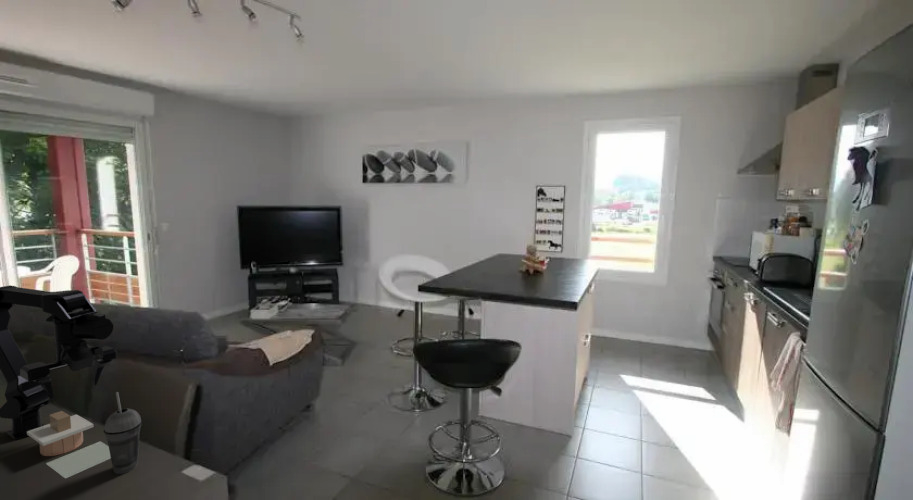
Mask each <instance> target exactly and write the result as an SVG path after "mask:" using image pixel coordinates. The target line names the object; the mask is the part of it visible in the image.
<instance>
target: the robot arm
mask: <svg viewBox="0 0 913 500" xmlns="http://www.w3.org/2000/svg"><path fill="white" fill-rule="evenodd" d="M15 305H18V306H24V307H25V306H26V307H33V308H39V309H41V311H43V313H45V314H49V315H50V316H49V317H47V318H46V319H45V322H48V323H50V322H51V323H53V331H54V340H53V345H54V346H55V356H54V359H55V360H56V361H55V362H50V363H45V362H42V361H37V362H33V363H29V364H28V363H27V361H26V358H25V356H24V354H23V353H22V351H21V350H20V348H19V346H18V344H17V342H16V341H15V338H14V337H13V335H12V333H11V331H10V329H9V324H10V321H11V314H10V310H12V308H13V307H14V306H15ZM97 313H98V311H97V310H96V308H95V306H94V305H93V304H92V303H91V302H90V300H89V299H88V298H87V297H86V295H85V294H84V292H83V291H82V290H80V289H73V290H69V289H67V290H58V291H47V290H40V289H32V288H25V287H19V286H15V285H6V286H0V371H1V373H2V375H3V377H4V378H5V380H6V382H7V384H6V388H5V391H4V398H5V399H6V402H4V404H3V405H2V406H1V407H0V418H1V419H10V423H11V429H10V430H8V431H7V432H6V434H7V435H8V436H10V437H11V438H13V440H17V441H18V440H19V439H20V440H21V439H23V438H25V437H30V436H29V435H27V431H30V430H33V429H35V428H38V427H41V426H44V424H43V422H42V417H41V416H42V415H41V408H42V407H44V406H47V405H50V401H51V400H53V399H54V390H53V385H52V376H51V375H50V374H51V371H54V370H58V369H63V368H65V367H69V369H70V370H71V371H74V372H78V371H80V370H83V369H86V368H90V373H91V382H92V385H93V386H94V387H96V386H97V384H98V382H99V380H100V376H101V373H102V371H103V370H104V367H106V365H108V364H109V363H111V362H112V361H113V360H114V359H117V358H118V351H117V349H116V348H113V347H111V346H108V345H104V346H101V345H97V346H93V347H88V343H87V340H97V341H98V340H100V341H103V340H106V339H108V338H109V337H110V336H111V334H112V333H113V331H114V323H113V322H112V320H110V319H109V318H106V314H105V313H98V314H97Z"/></svg>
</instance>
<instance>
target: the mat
mask: <svg viewBox="0 0 913 500" xmlns="http://www.w3.org/2000/svg"><path fill="white" fill-rule="evenodd" d="M108 460H111V456H110V451H109V446H108V445H107V443H106V444H105V443H104V442H102V441H101V440H100V441H98V442H95V443H92V444H90V445H88V446H86V447H83V448H81V449H78V450H75V451H73V452H71V453H69V454H68V453H67V454H66V455H63V456H60V457H58V458H56V459H53V460H51V461H48V462H46V463H45V465H47V466H48V467H49V468H51V469H52V470H53V471H54V472H55V473H57V474H59V475H60V476H61V477H62V478H64V480H65V479H68V478H70V477H72V476H75V475H77V474H78V473H81V472H84V471H86V470H88V469H90V468H92V467H95V466H97V465H99V464H101V463H104V462H106V461H108Z"/></svg>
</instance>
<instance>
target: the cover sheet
mask: <svg viewBox="0 0 913 500" xmlns="http://www.w3.org/2000/svg"><path fill="white" fill-rule="evenodd" d="M48 415H49V418H48V419H49V423H47V424H45V425H44V424H43V425H44V426H41V427H38V428H35V429H33V430H30V431H27V435H29V436H28V437H30V438H32V439H33V440H35V441H36V442H37V443H40V444H41V445H43V446H45V445H47V444H50V443H53V442H55V441H58V440H61V439H63V438H66V437H68V436H71V435H74V434H76V433H79V432H82V431H83V432H84V431H87V430H89V429H92V428H94V423H92V422H91V421H89V420H87V419H86V418H84V417H82V416H80V415H78V414H72V415H70V414H68V413H66V412H64V410H60V411H57V412H54V413H51V414H48Z"/></svg>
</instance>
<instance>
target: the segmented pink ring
mask: <svg viewBox="0 0 913 500" xmlns="http://www.w3.org/2000/svg"><path fill="white" fill-rule="evenodd" d="M83 443H84V431H82V432H79V433H76V434H74V435H71V436H68V437H66V438H63V439H61V440H58V441H55V442H53V443H50V444H47V445H45V446H43V445H41V444H40V443H39V453H40V455H41V456H43V457H54V456H58V455H62V454H63V455H64V454H65V453H68V452H71V451H73V450H75V449H77V448H78V447H80V446H81V445H82V444H83Z"/></svg>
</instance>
